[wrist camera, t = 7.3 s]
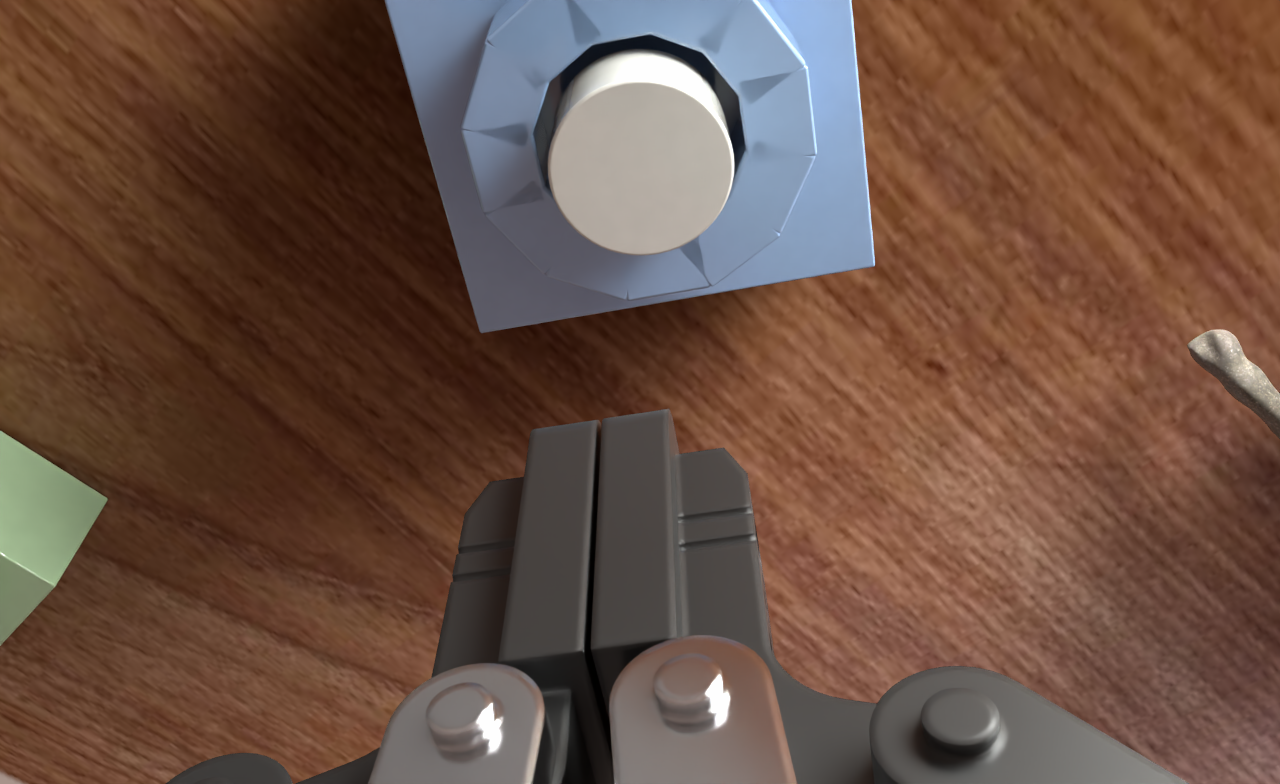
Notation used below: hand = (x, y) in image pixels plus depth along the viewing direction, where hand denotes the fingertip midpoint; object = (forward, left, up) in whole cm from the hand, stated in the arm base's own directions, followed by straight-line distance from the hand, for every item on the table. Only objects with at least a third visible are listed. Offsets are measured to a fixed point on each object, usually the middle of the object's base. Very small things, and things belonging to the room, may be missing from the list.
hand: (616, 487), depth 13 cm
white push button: (0, +1, -9) cm, 9 cm away
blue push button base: (0, +1, -15) cm, 15 cm away
